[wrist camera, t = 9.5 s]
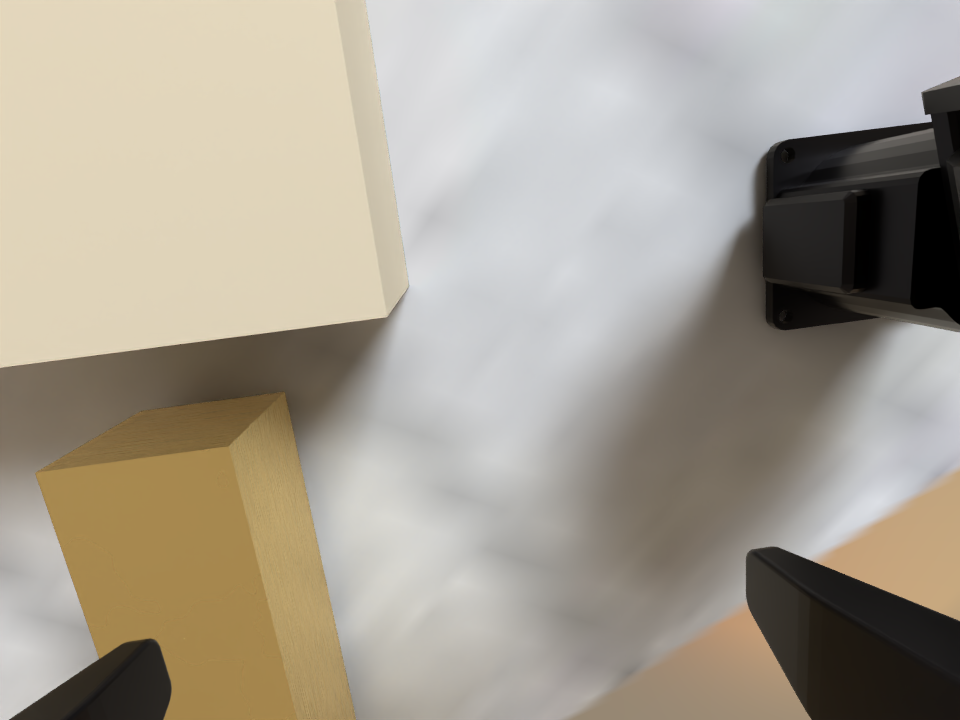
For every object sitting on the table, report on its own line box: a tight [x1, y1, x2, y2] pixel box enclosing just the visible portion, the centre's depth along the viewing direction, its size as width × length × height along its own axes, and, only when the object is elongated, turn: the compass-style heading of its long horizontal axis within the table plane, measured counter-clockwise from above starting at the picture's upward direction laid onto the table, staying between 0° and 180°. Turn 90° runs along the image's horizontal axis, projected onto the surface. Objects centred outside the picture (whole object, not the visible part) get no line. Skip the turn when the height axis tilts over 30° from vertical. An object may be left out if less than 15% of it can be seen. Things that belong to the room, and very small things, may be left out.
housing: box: [0, 0, 409, 368], centre depth 14 cm, size 14×10×7 cm
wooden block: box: [35, 392, 356, 720], centre depth 18 cm, size 6×17×6 cm, turn 7°
